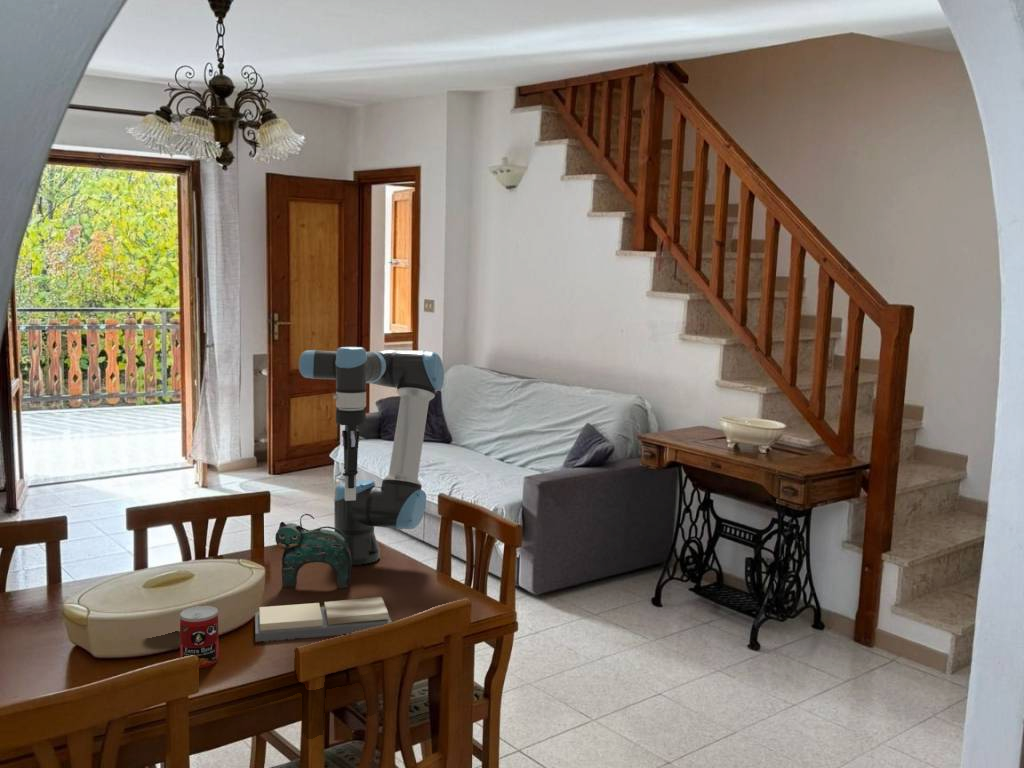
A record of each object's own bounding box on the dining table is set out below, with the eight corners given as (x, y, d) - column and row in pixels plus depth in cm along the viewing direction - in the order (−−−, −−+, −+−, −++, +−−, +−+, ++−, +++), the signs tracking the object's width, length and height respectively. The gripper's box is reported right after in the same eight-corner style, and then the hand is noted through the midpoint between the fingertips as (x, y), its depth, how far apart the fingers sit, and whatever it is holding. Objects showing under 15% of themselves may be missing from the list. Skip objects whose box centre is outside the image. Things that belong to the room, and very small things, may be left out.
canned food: (179, 671, 185) (178, 620, 184) (182, 655, 193) (181, 606, 192) (217, 667, 187) (217, 617, 186) (219, 652, 195) (218, 604, 194)
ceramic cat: (274, 589, 236) (274, 515, 234) (280, 581, 242) (279, 509, 240) (349, 590, 237) (350, 517, 235) (353, 582, 243) (353, 510, 241)
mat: (255, 619, 214) (255, 605, 214) (383, 609, 223) (383, 595, 223) (255, 642, 201) (255, 626, 201) (392, 630, 210) (392, 616, 209)
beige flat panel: (324, 608, 217) (324, 601, 217) (381, 603, 221) (381, 596, 221) (328, 624, 207) (328, 618, 207) (388, 619, 211) (388, 612, 210)
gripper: (333, 405, 229) (333, 494, 232) (338, 412, 217) (337, 506, 219) (362, 404, 231) (362, 493, 234) (369, 411, 219) (368, 505, 222)
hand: (350, 499), depth 227 cm, fingers closed
